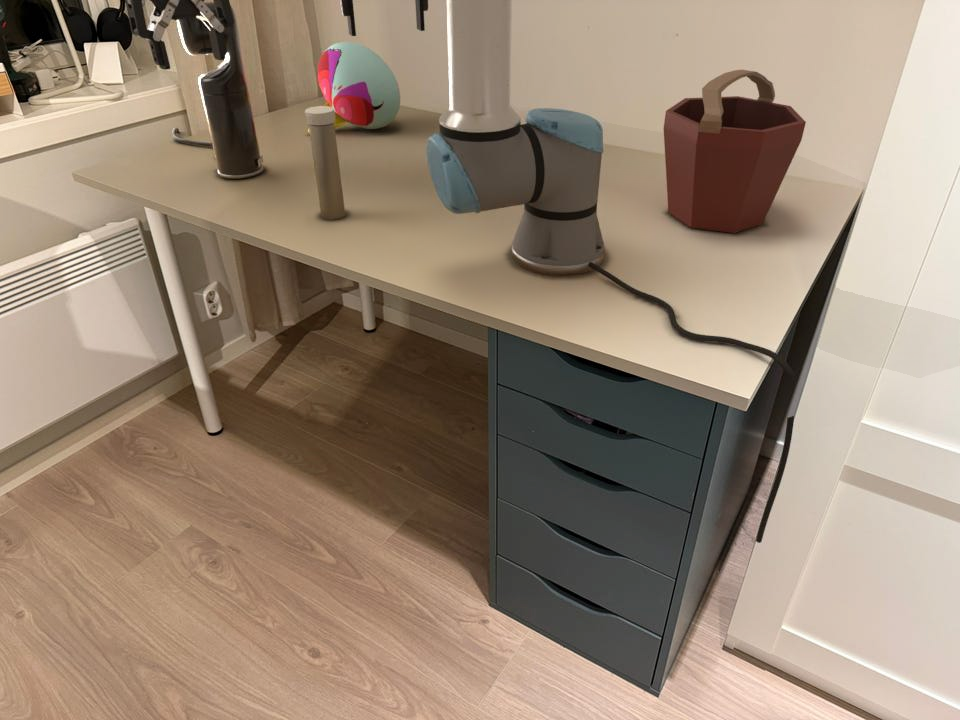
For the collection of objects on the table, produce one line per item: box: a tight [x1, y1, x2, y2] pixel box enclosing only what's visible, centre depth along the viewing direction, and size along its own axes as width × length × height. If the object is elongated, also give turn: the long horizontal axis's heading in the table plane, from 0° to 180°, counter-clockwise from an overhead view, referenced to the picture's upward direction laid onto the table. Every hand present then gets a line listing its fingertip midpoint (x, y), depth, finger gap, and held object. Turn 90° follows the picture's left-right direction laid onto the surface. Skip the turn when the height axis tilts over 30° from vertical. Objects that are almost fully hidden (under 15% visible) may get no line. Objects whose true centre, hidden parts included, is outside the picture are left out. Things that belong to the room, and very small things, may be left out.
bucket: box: [663, 69, 807, 234], centre depth 125 cm, size 24×22×25 cm
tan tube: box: [307, 122, 346, 221], centre depth 128 cm, size 4×4×19 cm
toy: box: [307, 41, 401, 134], centre depth 176 cm, size 24×24×20 cm
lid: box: [304, 105, 336, 125], centre depth 123 cm, size 5×5×2 cm
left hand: (193, 64), depth 103 cm, fingers open, 8 cm apart
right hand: (387, 32), depth 136 cm, fingers open, 13 cm apart
